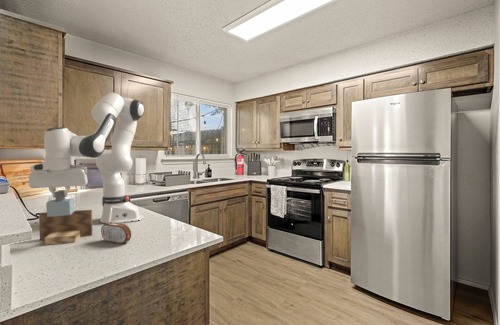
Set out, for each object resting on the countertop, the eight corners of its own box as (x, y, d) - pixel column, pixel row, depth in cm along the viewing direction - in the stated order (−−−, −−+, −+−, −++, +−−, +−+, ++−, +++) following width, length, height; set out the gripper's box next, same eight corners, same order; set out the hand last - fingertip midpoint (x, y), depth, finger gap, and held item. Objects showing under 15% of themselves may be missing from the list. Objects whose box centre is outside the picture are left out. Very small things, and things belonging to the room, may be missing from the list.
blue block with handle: (74, 211, 112) (73, 189, 111) (69, 214, 106) (68, 191, 106) (52, 213, 109) (51, 190, 109) (47, 216, 104) (45, 193, 103)
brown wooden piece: (92, 234, 120) (92, 209, 120) (87, 240, 111) (86, 214, 111) (41, 239, 113) (40, 212, 112) (31, 246, 104) (30, 217, 104)
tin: (131, 243, 109) (131, 224, 109) (126, 245, 106) (126, 226, 106) (105, 239, 114) (105, 220, 114) (99, 241, 111) (99, 222, 111)
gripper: (88, 164, 113) (90, 194, 114) (32, 165, 106) (34, 197, 107) (85, 164, 107) (86, 196, 108) (25, 166, 100) (27, 200, 101)
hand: (60, 197), depth 107 cm, fingers closed on blue block with handle
